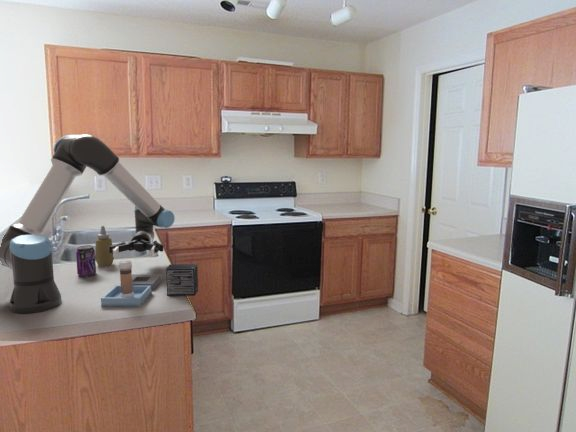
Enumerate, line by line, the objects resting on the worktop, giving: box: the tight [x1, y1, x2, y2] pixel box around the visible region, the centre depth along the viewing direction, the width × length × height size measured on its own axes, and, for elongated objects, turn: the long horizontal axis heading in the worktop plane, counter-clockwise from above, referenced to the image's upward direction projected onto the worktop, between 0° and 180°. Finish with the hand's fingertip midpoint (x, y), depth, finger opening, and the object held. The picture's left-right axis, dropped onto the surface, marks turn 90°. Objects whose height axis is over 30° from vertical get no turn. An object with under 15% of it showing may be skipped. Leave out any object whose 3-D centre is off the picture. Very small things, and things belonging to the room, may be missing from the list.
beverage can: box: [75, 244, 97, 277], centre depth 177 cm, size 7×7×12 cm
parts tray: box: [100, 285, 152, 308], centre depth 149 cm, size 13×13×3 cm
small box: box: [165, 263, 199, 297], centre depth 156 cm, size 11×6×10 cm, turn 92°
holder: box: [119, 273, 162, 291], centre depth 165 cm, size 12×12×2 cm
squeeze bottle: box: [94, 225, 115, 268], centre depth 190 cm, size 8×8×18 cm
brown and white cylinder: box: [118, 259, 134, 297], centre depth 148 cm, size 4×4×13 cm
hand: (133, 253), depth 159 cm, fingers open, 13 cm apart
